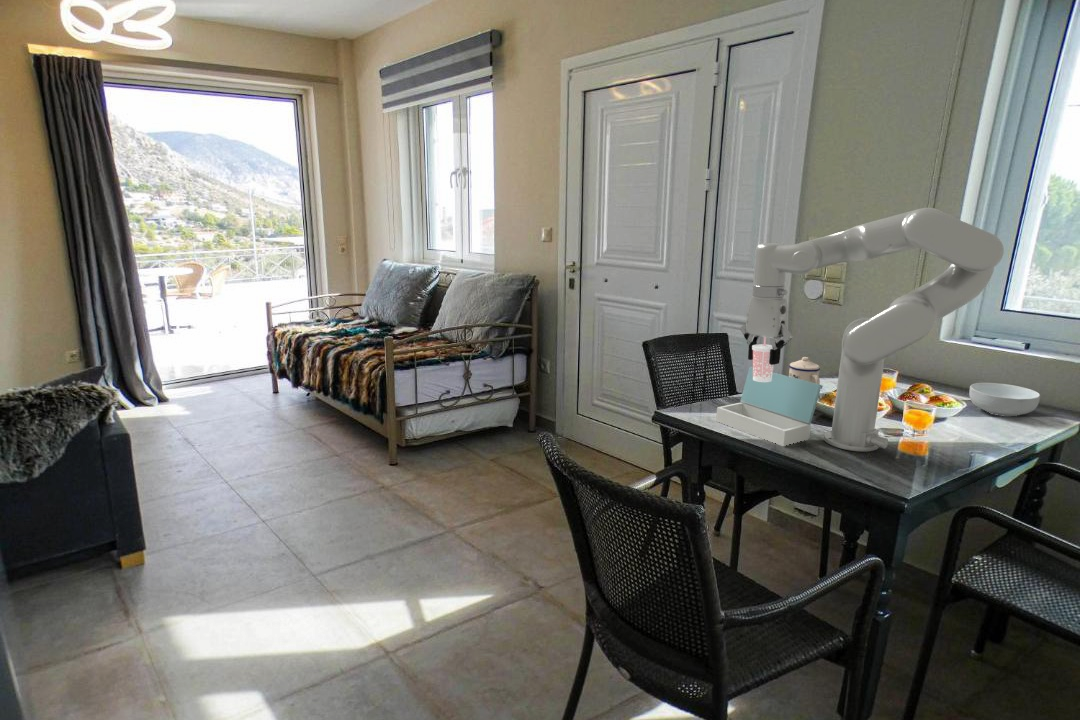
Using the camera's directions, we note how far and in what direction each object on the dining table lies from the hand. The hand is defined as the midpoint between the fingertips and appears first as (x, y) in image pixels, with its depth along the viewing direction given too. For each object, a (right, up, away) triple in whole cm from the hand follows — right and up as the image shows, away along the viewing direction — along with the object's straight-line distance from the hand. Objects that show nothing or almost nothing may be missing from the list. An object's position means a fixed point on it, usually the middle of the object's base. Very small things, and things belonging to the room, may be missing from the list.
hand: (763, 360), depth 167 cm
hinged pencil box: (0, -18, +3) cm, 19 cm away
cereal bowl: (+76, -15, +21) cm, 80 cm away
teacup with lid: (+26, -11, +37) cm, 46 cm away
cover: (+5, -9, +4) cm, 11 cm away
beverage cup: (0, -5, +1) cm, 5 cm away
